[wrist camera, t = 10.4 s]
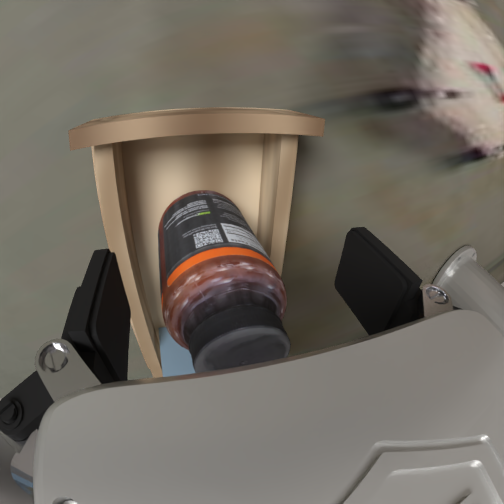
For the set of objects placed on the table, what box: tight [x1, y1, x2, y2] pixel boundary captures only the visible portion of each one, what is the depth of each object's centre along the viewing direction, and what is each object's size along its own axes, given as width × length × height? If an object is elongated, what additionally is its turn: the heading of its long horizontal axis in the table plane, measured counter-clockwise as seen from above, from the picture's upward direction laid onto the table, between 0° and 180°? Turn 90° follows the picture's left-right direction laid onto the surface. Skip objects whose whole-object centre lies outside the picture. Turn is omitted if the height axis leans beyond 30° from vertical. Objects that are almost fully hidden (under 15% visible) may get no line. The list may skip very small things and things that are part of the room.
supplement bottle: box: [158, 190, 291, 373], centre depth 15 cm, size 6×6×11 cm
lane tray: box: [68, 107, 325, 378], centre depth 20 cm, size 13×24×5 cm, turn 177°
